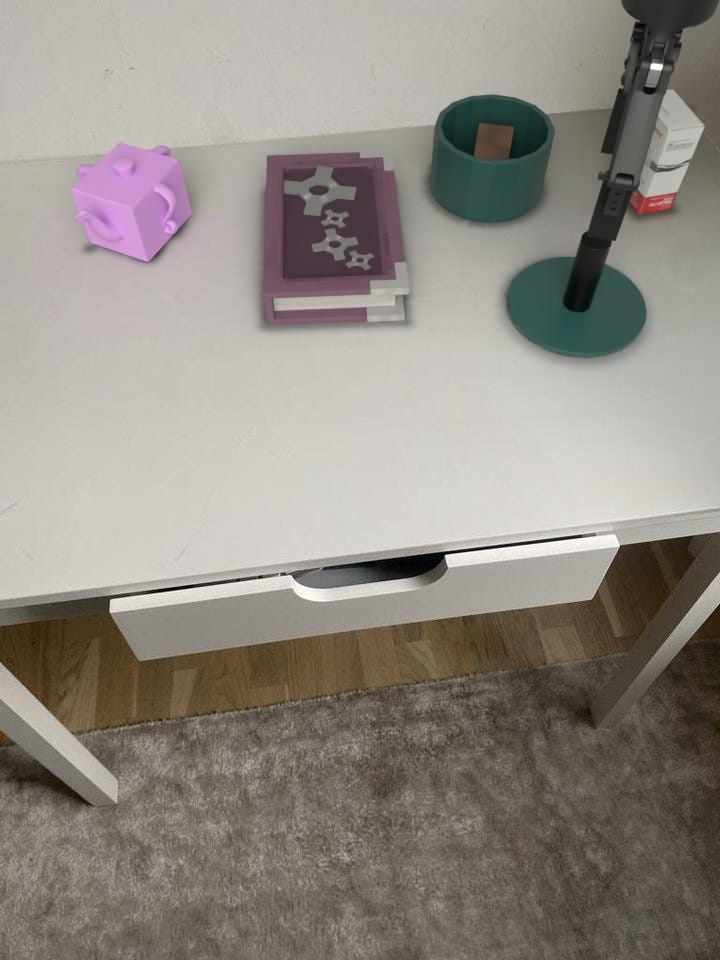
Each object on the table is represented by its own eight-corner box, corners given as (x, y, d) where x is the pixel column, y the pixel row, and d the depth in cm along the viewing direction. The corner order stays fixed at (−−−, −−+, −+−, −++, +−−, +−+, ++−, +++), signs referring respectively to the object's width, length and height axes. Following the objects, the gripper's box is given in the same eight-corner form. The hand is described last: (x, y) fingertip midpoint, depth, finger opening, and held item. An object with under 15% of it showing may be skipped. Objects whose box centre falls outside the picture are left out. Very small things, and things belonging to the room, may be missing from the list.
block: (505, 174, 102) (511, 141, 102) (508, 162, 98) (514, 126, 97) (472, 170, 103) (478, 137, 102) (473, 157, 98) (479, 122, 98)
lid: (647, 277, 92) (676, 205, 83) (638, 373, 84) (669, 304, 75) (517, 254, 94) (532, 182, 86) (495, 345, 86) (510, 276, 77)
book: (407, 320, 88) (409, 287, 84) (267, 326, 88) (262, 293, 84) (391, 183, 102) (392, 149, 98) (271, 188, 102) (266, 154, 97)
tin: (547, 163, 104) (561, 103, 97) (532, 231, 97) (545, 171, 89) (443, 147, 106) (448, 87, 99) (420, 212, 99) (424, 152, 92)
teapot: (142, 297, 90) (119, 227, 82) (47, 264, 94) (16, 193, 85) (220, 209, 99) (206, 137, 91) (131, 181, 102) (110, 109, 94)
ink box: (672, 209, 99) (707, 124, 89) (637, 216, 98) (668, 130, 88) (643, 170, 103) (673, 85, 93) (609, 176, 103) (635, 90, 93)
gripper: (644, -117, 65) (583, 116, 83) (619, 28, 52) (554, 268, 70) (734, -108, 64) (654, 127, 82) (733, 43, 51) (637, 283, 69)
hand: (608, 192), depth 76 cm, fingers open, 13 cm apart
